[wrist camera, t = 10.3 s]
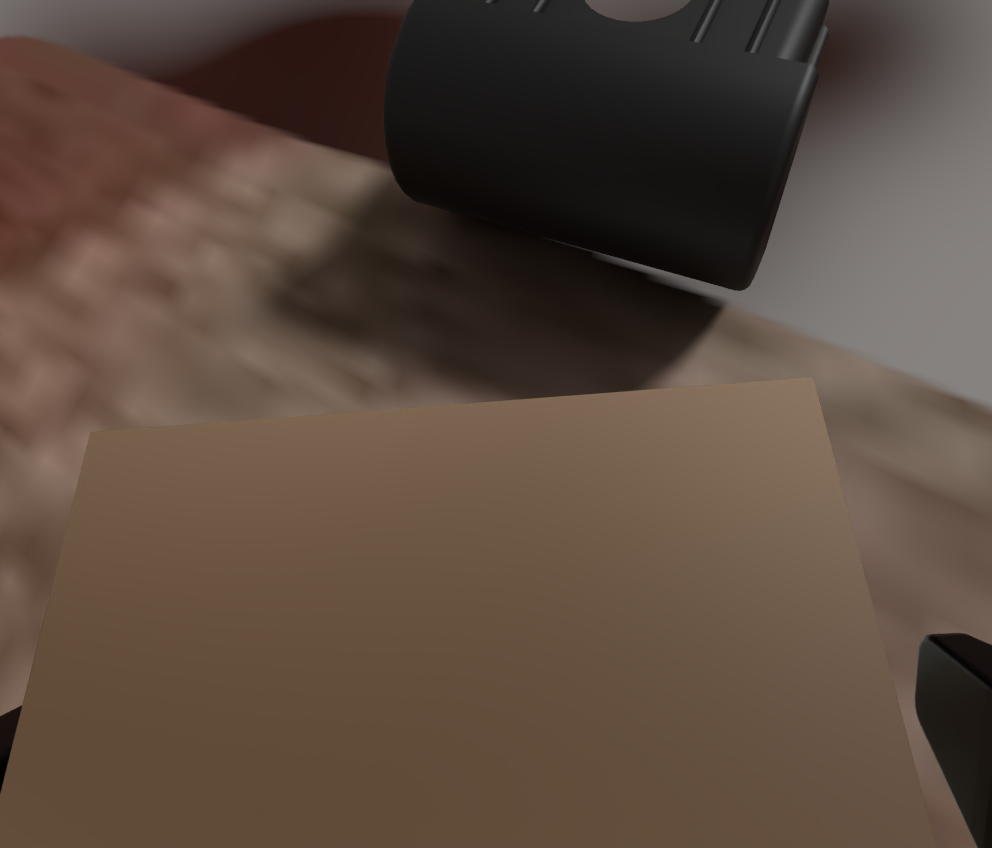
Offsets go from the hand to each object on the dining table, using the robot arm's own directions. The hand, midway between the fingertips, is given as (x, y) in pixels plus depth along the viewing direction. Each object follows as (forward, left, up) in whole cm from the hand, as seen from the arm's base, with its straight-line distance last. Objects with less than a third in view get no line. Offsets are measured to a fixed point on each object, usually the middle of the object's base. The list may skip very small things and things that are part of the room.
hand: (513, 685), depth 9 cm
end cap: (+16, +1, -9) cm, 18 cm away
